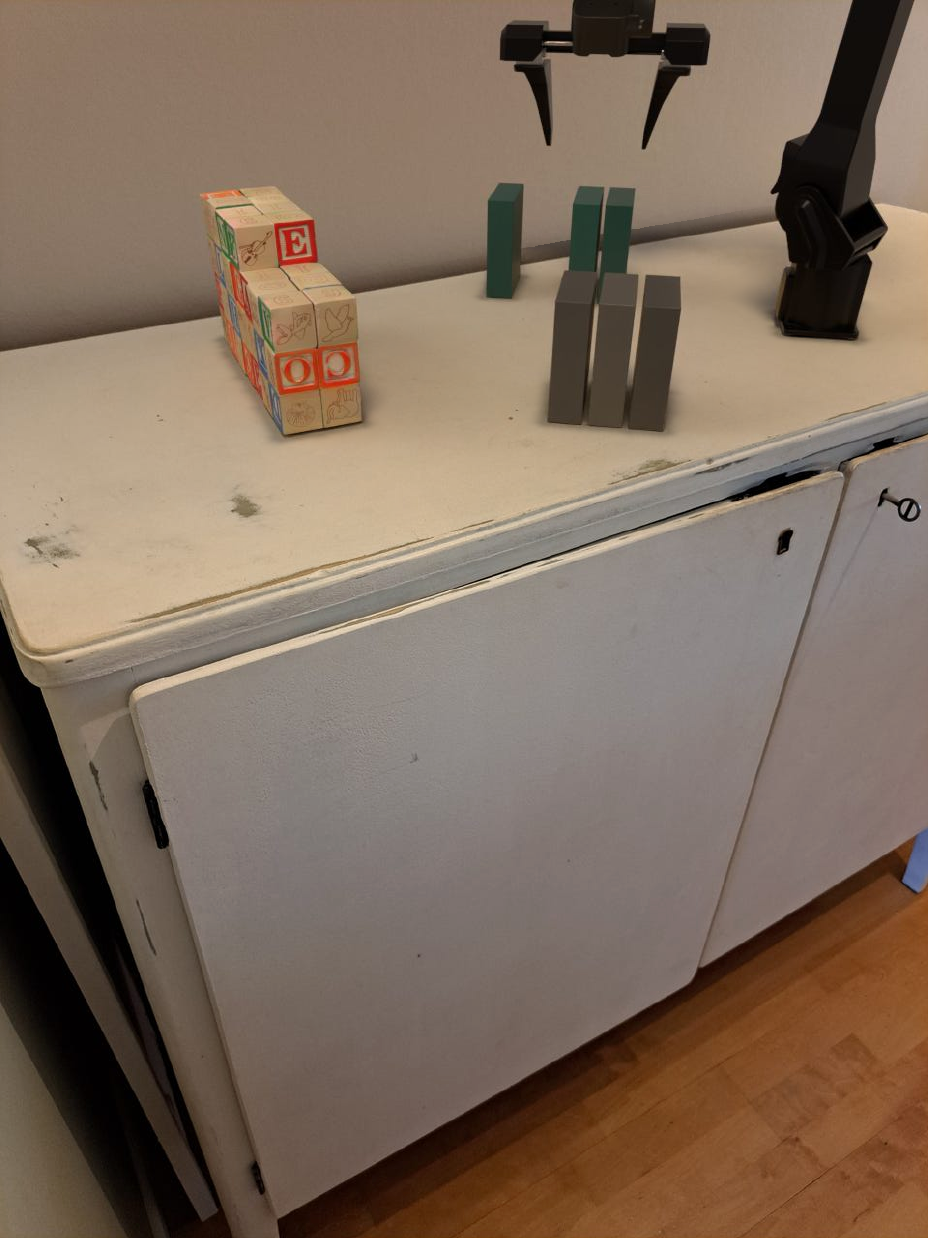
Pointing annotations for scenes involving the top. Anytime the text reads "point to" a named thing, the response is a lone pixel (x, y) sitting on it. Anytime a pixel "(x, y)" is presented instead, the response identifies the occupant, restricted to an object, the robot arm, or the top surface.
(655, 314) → the grey books
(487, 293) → the teal book
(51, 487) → the top surface
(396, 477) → the top surface
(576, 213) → the teal books
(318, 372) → the stack of blocks
